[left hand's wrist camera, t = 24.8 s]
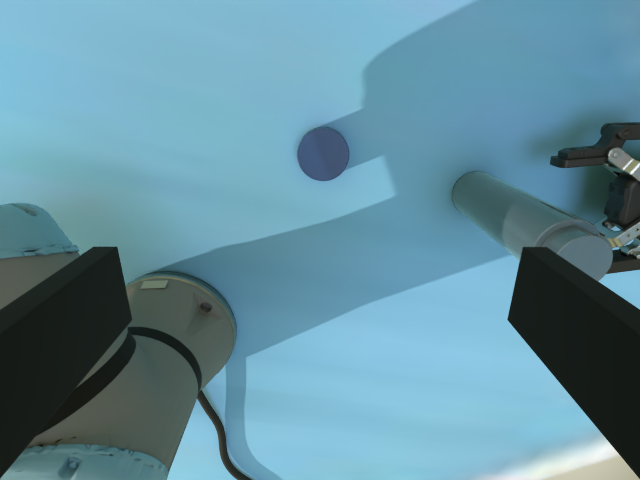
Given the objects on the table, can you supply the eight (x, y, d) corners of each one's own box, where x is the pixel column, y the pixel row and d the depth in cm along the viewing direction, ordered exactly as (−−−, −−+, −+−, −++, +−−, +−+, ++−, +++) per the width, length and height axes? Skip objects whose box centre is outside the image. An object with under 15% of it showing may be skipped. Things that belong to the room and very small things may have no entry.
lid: (327, 116, 38) (327, 117, 36) (357, 156, 40) (359, 159, 38) (288, 148, 39) (286, 151, 37) (319, 186, 41) (319, 191, 39)
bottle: (479, 220, 42) (587, 306, 25) (443, 203, 41) (529, 279, 24) (504, 182, 41) (638, 246, 24) (467, 163, 40) (577, 215, 23)
